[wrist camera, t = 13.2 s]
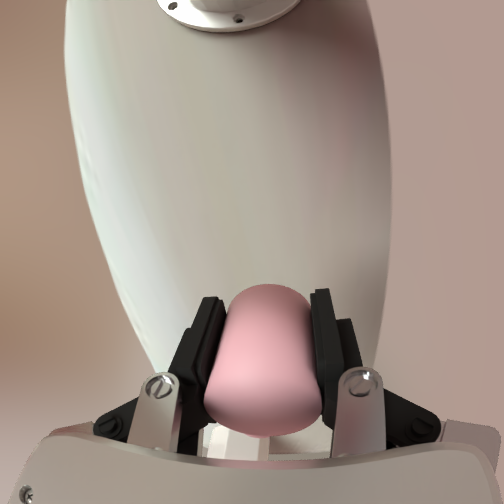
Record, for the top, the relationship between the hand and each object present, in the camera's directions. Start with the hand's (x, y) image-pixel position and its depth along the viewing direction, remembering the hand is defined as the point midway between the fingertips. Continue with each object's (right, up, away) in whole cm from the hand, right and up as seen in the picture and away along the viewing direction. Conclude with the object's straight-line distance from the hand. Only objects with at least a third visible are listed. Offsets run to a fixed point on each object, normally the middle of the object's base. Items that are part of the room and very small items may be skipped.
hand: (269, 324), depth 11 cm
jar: (-2, -25, +27) cm, 37 cm away
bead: (0, 0, 0) cm, 0 cm away
